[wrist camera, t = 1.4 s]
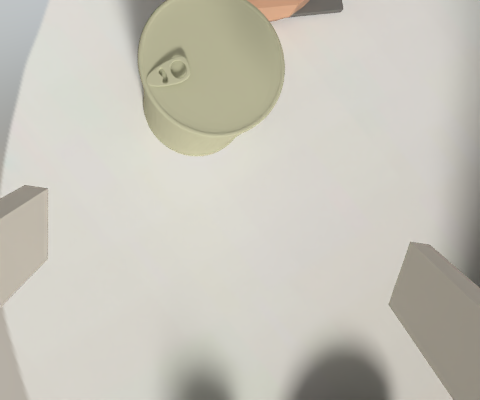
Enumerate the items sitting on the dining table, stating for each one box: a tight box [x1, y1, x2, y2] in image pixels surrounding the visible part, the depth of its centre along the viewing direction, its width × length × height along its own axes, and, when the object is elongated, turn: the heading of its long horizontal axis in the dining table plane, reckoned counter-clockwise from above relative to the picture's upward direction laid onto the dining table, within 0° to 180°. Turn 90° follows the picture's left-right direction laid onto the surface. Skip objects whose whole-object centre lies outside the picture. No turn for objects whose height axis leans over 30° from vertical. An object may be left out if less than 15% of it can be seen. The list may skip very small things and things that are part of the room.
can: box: [138, 0, 285, 156], centre depth 28 cm, size 9×9×12 cm
